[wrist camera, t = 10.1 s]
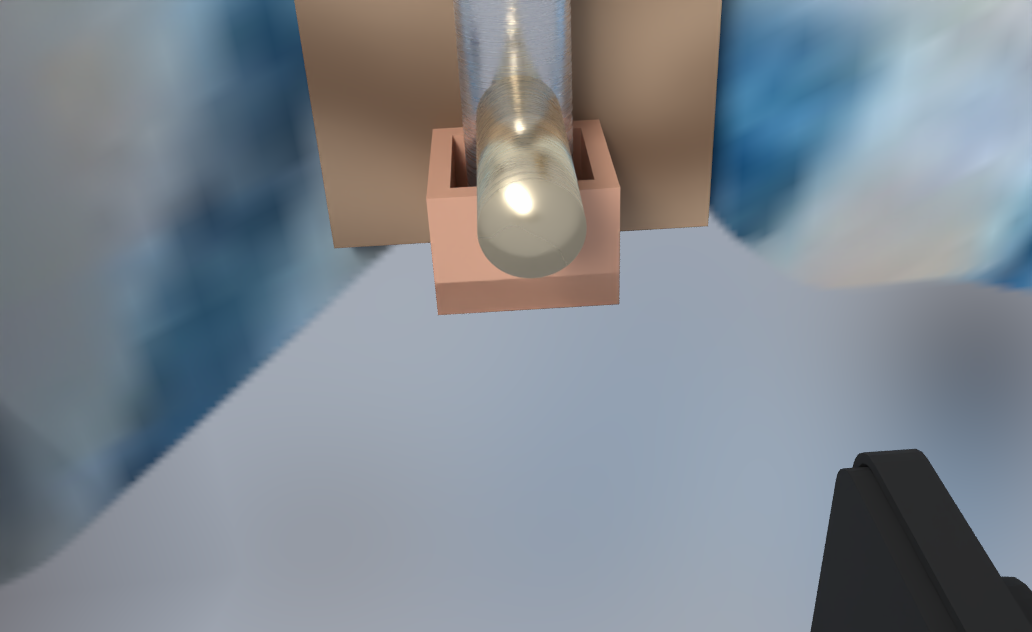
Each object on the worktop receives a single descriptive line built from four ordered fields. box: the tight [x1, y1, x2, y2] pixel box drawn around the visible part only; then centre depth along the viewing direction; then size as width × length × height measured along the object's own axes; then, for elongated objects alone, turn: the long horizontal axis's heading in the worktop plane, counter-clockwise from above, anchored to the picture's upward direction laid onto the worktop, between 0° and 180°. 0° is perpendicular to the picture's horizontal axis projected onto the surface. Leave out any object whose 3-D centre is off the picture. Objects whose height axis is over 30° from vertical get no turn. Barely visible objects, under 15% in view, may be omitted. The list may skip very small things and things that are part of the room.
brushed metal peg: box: [453, 0, 587, 278], centre depth 22 cm, size 15×3×10 cm, turn 3°
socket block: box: [426, 119, 620, 315], centre depth 28 cm, size 4×5×5 cm
